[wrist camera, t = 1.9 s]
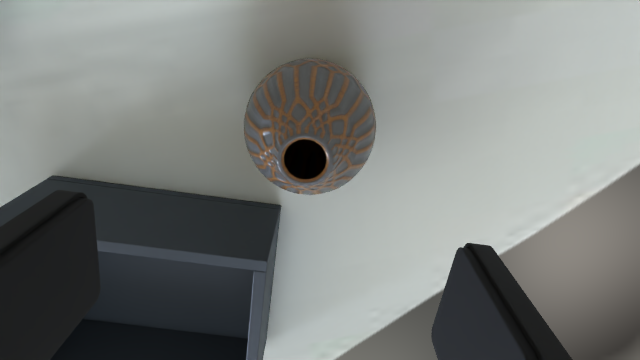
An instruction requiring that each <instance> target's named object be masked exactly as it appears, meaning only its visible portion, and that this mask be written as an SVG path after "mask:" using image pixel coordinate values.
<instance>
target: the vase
mask: <svg viewBox="0 0 640 360" xmlns="http://www.w3.org/2000/svg"><path fill="white" fill-rule="evenodd" d="M375 133H376V120H375V113H374V109H373V105H372V102H371V100H370V98H369V96H368V94H367V92H366V90H365V89H364V87H363V86H362V84H361V83H360V82H359V81H358V80H357V79H356V77H355V76H353V75H352V74H351V73H350V72H348V71H347V70H346V69H344V68H343V67H341V66H339V65H337V64H335V63H332V62H329V61H326V60H321V59H300V60H295V61H291V62H289V63H286V64H284V65H281V66H280V67H278V68H276V69H275V70H273V71H272V72H270V73H269V74H268V75H267V76H266V77H265V78H264V79H263V80H262V81H261V82H260V83H259V84H258V86H257V87H256V89H255V90H254V92H253V93H252V95H251V97H250V99H249V102H248V105H247V108H246V112H245V118H244V134H245V141H246V145H247V148H248V151H249V154H250V156H251V158H252V160H253V162H254V163H255V165H256V167H257V168H258V169H259V171H260V172H261V173H262V174H263V175H264V176H265V177H266V178H267V179H268V180H269V181H271V182H272V183H274V184H275V185H277V186H278V187H280V188H282V189H285V190H287V191H290V192H293V193H298V194H306V195H313V194H321V193H326V192H329V191H332V190H335V189H337V188H339V187H341V186H343V185H344V184H346V183H347V182H348V181H350V180H351V179H352V178H353V177H354V176H355V175H356V174H357V173H358V172H359V171H360V170H361V168H362V167H363V166H364V164H365V163H366V161H367V159H368V157H369V155H370V153H371V150H372V147H373V144H374V140H375Z"/></svg>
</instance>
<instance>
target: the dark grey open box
mask: <svg viewBox="0 0 640 360" xmlns="http://www.w3.org/2000/svg"><path fill="white" fill-rule="evenodd" d="M56 190H66V191H74V192H82V193H84V194H86V196H87V198H88V199H90V200H92V202H93V204H94V213H95V225H96V237H97V249H98V261H99V273H100V285H101V290H100V294H99V297H98V299H97V301H96V303H95V304H94V305H93V306H92V308H91V309H90V310H89V311H88V313H87V314H86V315H85V316H84V318H83V319H82V320H81V321H80V323H79V324H78V325H77V326H76V328H75V329H74V330H73V331H72V333H71V334H70V335H69V336H68V338H67V339H66V340H65V341H64V343H63V344H62V345H61V346H60V348H59V349H58V350H57V351H56V353H55V354H54V355H53V356H52V358H51V359H50V360H263V355H264V350H265V344H266V337H267V328H268V319H269V310H270V301H271V292H272V283H273V274H274V265H275V256H276V247H277V238H278V229H279V220H280V211H281V206H280V205H273V204H266V203H258V202H250V201H243V200H235V199H228V198H220V197H212V196H205V195H197V194H189V193H182V192H174V191H167V190H159V189H151V188H144V187H136V186H129V185H121V184H113V183H106V182H98V181H90V180H83V179H75V178H68V177H60V176H51V177H49V178H47V179H46V180H44V181H43V182H41V183H39V184H38V185H36V186H35V187H33V188H31V189H30V190H28V191H26V192H25V193H23V194H21V195H20V196H18V197H17V198H15V199H13V200H12V201H10V202H8V203H7V204H5V205H3V206H2V207H0V227H1V226H2V225H4V224H5V223H7V222H8V221H10V220H11V219H13V218H15V217H16V216H18V215H19V214H21V213H22V212H24V211H25V210H27V209H28V208H30V207H31V206H33V205H34V204H36V203H37V202H39V201H41V200H42V199H44V198H45V197H47V196H48V195H50V194H51V193H53V192H54V191H56Z"/></svg>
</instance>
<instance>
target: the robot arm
mask: <svg viewBox="0 0 640 360" xmlns="http://www.w3.org/2000/svg"><path fill="white" fill-rule="evenodd" d="M100 290H101V285H100V273H99V261H98V249H97V237H96V225H95V213H94V204H93V202H92V200H90V199H88V198H87V196H86V194H84V193H82V192H74V191H66V190H56V191H54V192H53V193H51V194H50V195H48V196H47V197H45V198H44V199H42V200H41V201H39V202H37V203H36V204H34V205H33V206H31V207H30V208H28V209H27V210H25V211H24V212H22V213H21V214H19V215H18V216H16V217H15V218H13V219H11V220H10V221H8V222H7V223H5V224H4V225H2V226H1V227H0V360H50V359H51V358H52V356H53V355H54V354H55V353H56V351H57V350H58V349H59V348H60V346H61V345H62V344H63V343H64V341H65V340H66V339H67V338H68V336H69V335H70V334H71V333H72V331H73V330H74V329H75V328H76V326H77V325H78V324H79V323H80V321H81V320H82V319H83V318H84V316H85V315H86V314H87V313H88V311H89V310H90V309H91V308H92V306H93V305H94V304H95V303H96V301H97V299H98V297H99V294H100ZM432 342H433V345H434V349H435V352H436V355H437V358H438V360H572V359H571V357H570V356H569V354H568V353H567V351H566V350H565V349H564V347H563V346H562V345H561V343H560V342H559V340H558V339H557V338H556V336H555V335H554V333H553V332H552V331H551V329H550V328H549V326H548V325H547V323H546V322H545V321H544V319H543V318H542V316H541V315H540V314H539V312H538V311H537V310H536V308H535V307H534V305H533V304H532V302H531V301H530V300H529V298H528V297H527V296H526V294H525V293H524V291H523V290H522V289H521V287H520V286H519V284H518V283H517V281H516V280H515V279H514V277H513V276H512V274H511V273H510V272H509V270H508V269H507V267H506V266H505V265H504V263H503V262H502V261H501V259H500V258H499V256H498V255H497V253H496V252H495V251H494V249H493V248H492V247H491V246H488V245H480V244H472V243H467V244H466V245H465V246H464V248H461V247H460V248H458V250H457V252H456V254H455V258H454V261H453V264H452V267H451V270H450V273H449V276H448V280H447V283H446V286H445V289H444V293H443V295H442V298H441V302H440V305H439V308H438V311H437V314H436V317H435V321H434V324H433V327H432Z"/></svg>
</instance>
